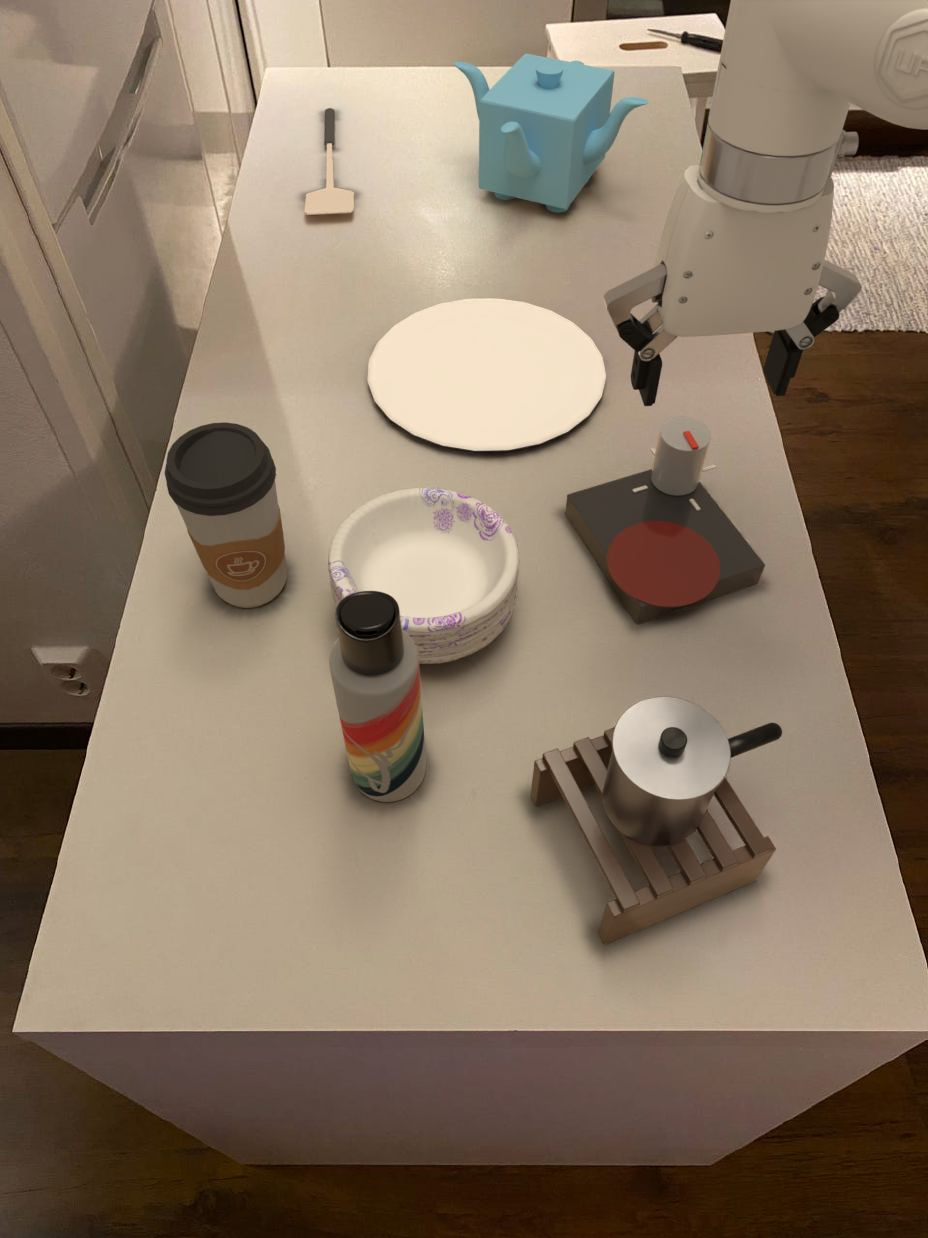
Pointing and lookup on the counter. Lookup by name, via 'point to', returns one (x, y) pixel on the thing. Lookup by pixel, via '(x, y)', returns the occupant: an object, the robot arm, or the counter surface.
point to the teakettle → (545, 128)
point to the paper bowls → (431, 567)
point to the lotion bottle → (378, 696)
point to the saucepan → (669, 767)
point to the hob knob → (680, 455)
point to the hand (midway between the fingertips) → (709, 388)
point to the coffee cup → (230, 510)
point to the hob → (640, 501)
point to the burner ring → (663, 564)
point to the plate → (486, 375)
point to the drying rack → (663, 894)
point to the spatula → (329, 181)
